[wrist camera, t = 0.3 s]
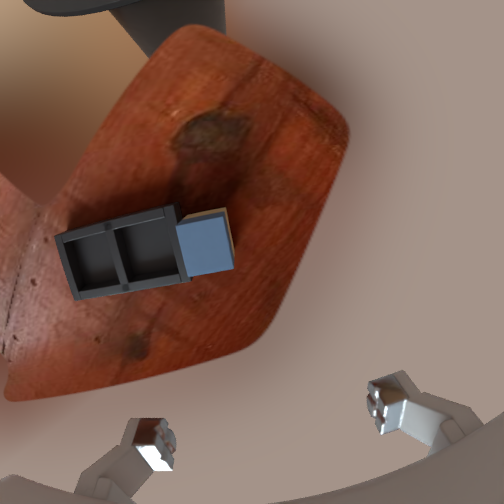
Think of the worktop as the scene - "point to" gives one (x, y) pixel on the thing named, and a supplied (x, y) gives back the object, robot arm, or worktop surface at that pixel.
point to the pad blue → (205, 244)
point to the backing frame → (124, 253)
